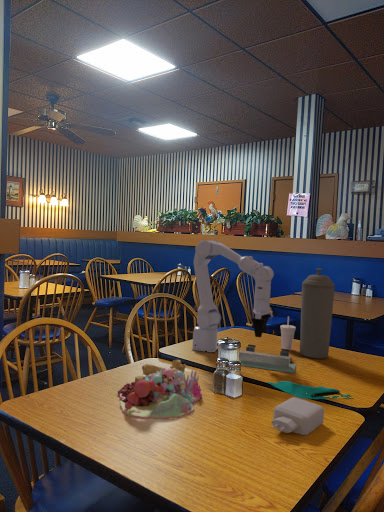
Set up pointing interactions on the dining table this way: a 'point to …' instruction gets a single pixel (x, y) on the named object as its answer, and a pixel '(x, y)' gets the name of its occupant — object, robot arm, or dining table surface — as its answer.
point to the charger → (298, 416)
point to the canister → (316, 315)
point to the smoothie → (287, 335)
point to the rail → (264, 359)
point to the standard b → (285, 353)
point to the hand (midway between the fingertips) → (259, 334)
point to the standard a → (251, 348)
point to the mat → (270, 367)
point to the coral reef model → (160, 393)
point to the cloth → (304, 390)
